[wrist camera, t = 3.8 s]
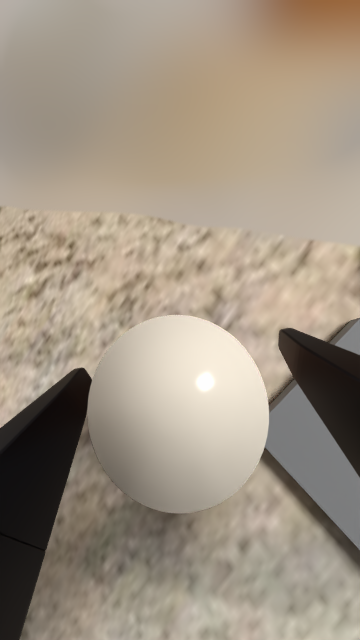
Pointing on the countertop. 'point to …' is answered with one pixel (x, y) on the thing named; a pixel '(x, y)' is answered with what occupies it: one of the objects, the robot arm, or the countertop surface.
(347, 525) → the mat
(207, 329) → the terracotta canister
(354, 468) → the robot arm
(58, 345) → the countertop surface
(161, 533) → the countertop surface
